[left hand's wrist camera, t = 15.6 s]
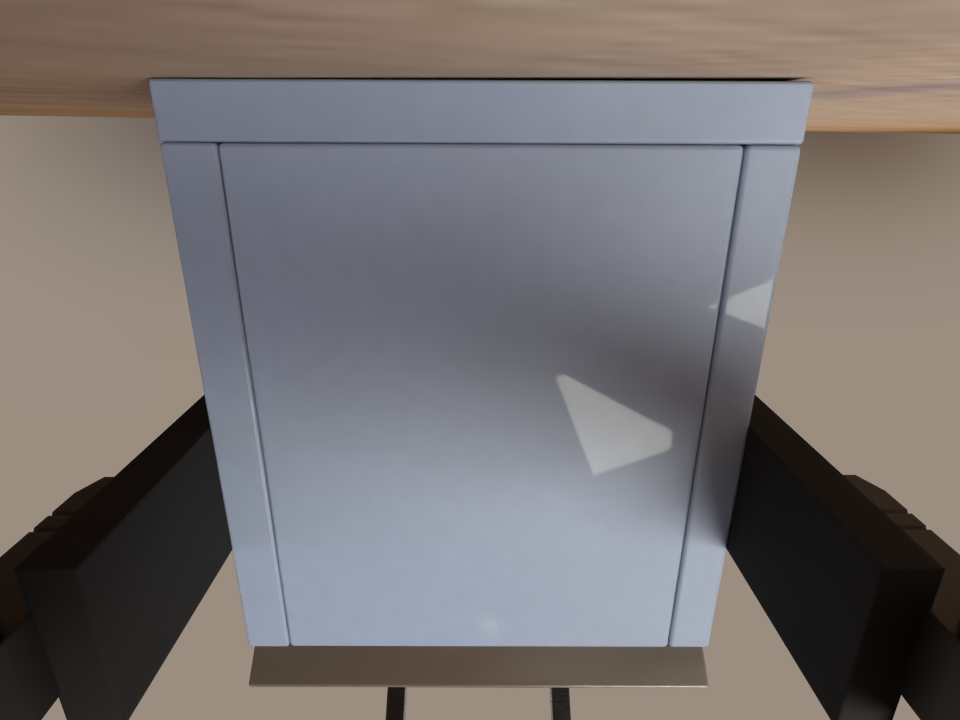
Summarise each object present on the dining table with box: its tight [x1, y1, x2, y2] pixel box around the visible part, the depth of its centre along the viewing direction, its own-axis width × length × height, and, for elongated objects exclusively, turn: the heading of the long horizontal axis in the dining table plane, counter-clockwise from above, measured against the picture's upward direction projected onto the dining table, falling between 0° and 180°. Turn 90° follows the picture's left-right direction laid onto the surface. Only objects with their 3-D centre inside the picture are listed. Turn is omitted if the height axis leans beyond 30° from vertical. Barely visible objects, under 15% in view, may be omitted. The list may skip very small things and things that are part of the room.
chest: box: [149, 78, 814, 647], centre depth 17 cm, size 15×10×11 cm
